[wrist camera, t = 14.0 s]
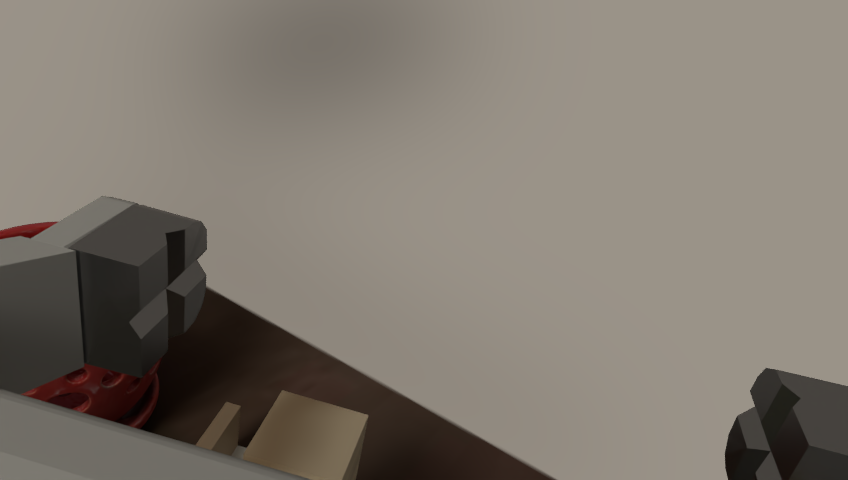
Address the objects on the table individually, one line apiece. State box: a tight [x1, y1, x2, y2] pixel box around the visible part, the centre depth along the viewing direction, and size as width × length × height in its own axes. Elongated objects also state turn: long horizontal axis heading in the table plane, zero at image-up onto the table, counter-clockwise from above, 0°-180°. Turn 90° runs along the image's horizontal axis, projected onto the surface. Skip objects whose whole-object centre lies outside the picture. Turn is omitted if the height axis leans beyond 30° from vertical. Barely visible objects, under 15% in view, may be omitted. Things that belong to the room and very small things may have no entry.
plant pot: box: [0, 222, 163, 429], centre depth 44 cm, size 13×13×12 cm
